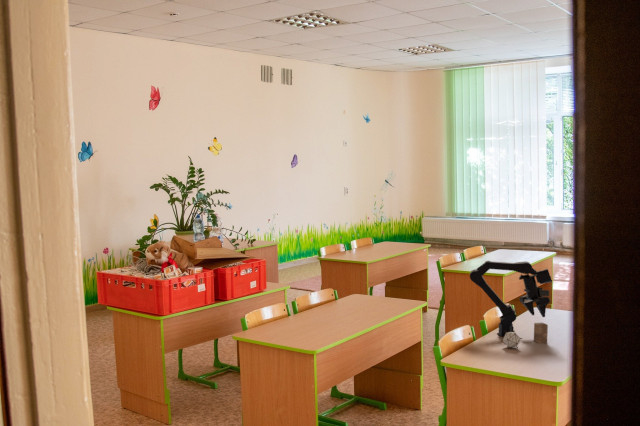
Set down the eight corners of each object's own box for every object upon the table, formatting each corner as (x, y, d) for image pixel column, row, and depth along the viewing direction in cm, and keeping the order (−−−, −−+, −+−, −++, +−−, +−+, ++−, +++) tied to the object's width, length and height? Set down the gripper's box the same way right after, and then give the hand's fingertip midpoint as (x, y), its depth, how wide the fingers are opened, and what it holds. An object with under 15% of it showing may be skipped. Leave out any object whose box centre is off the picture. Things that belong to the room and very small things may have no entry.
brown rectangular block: (538, 343, 287) (539, 325, 287) (533, 340, 292) (534, 322, 291) (547, 342, 288) (547, 324, 288) (541, 340, 293) (542, 322, 292)
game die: (514, 356, 278) (523, 343, 272) (497, 349, 279) (505, 335, 273) (516, 343, 285) (525, 330, 278) (499, 336, 286) (507, 322, 280)
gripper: (555, 282, 290) (563, 313, 289) (534, 281, 308) (541, 310, 308) (536, 288, 287) (544, 319, 287) (515, 286, 305) (523, 315, 305)
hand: (538, 316), depth 297 cm, fingers open, 9 cm apart
